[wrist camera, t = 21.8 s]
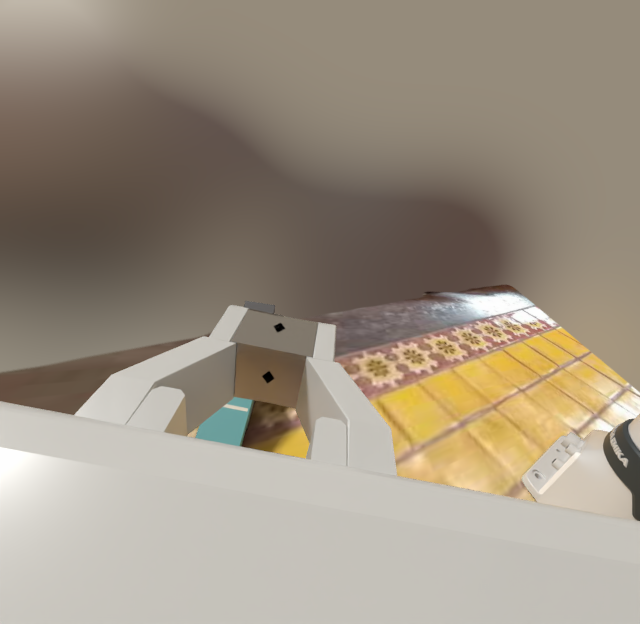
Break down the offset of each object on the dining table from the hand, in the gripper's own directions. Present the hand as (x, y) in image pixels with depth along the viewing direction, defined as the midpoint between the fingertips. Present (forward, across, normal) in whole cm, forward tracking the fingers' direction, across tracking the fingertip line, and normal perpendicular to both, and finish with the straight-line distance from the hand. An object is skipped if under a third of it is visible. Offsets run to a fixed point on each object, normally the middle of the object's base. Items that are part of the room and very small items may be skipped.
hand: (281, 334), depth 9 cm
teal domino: (+13, +7, +29) cm, 33 cm away
